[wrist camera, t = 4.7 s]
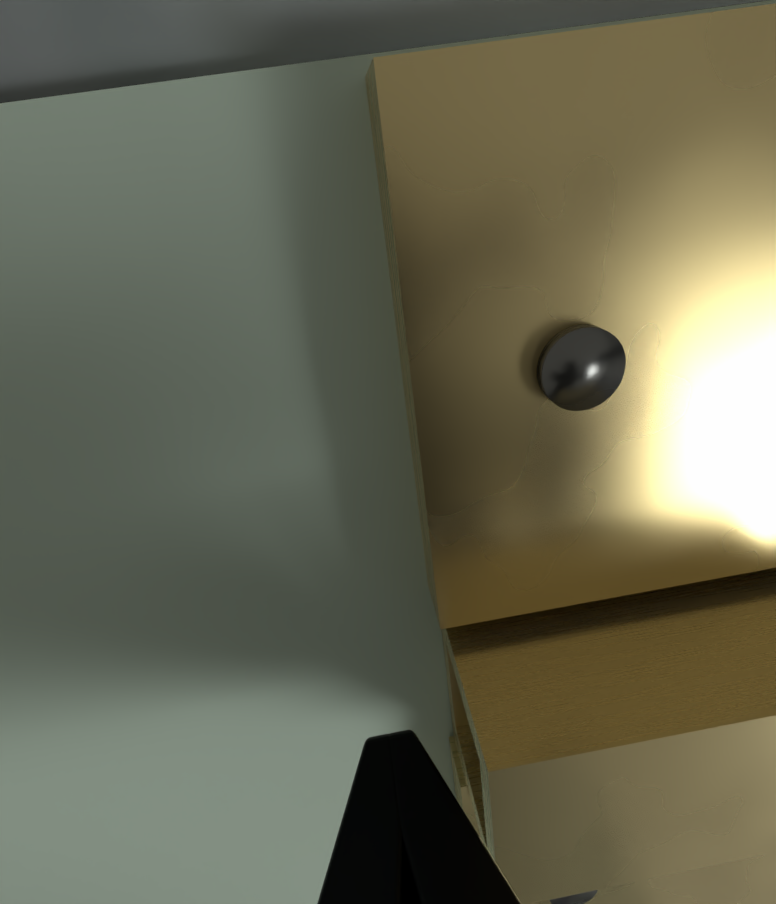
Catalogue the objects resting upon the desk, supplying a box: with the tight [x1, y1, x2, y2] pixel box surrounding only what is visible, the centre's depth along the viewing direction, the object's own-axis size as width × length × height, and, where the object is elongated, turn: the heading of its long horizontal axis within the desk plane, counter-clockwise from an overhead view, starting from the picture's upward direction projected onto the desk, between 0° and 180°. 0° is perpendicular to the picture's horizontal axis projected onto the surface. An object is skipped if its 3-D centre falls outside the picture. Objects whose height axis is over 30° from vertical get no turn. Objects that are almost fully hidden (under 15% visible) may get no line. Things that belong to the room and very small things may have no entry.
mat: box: [0, 0, 776, 904], centre depth 10 cm, size 26×18×1 cm
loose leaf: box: [441, 568, 776, 904], centre depth 10 cm, size 9×10×3 cm
